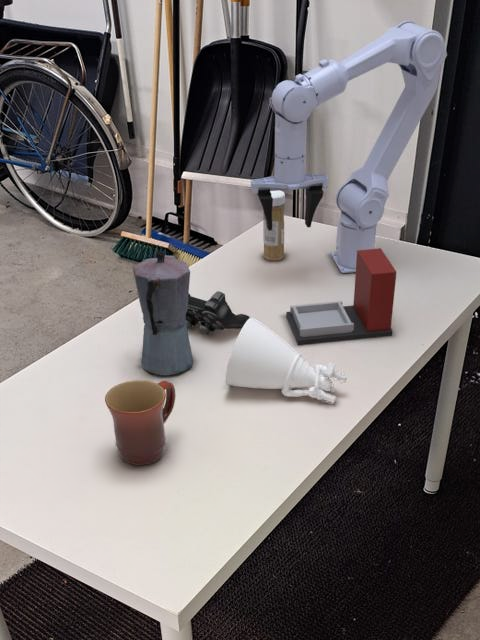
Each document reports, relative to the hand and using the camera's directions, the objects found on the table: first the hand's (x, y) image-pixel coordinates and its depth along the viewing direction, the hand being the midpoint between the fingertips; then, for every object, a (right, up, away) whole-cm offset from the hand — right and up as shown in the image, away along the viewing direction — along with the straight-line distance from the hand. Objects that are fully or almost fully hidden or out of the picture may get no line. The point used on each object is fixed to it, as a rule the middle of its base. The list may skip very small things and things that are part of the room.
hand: (288, 227), depth 166 cm
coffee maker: (+9, -22, -9) cm, 25 cm away
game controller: (-16, -21, -7) cm, 28 cm away
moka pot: (-22, -31, -18) cm, 42 cm away
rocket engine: (-3, -37, -25) cm, 45 cm away
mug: (-23, -47, -36) cm, 64 cm away
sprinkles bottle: (-2, -1, +14) cm, 15 cm away
